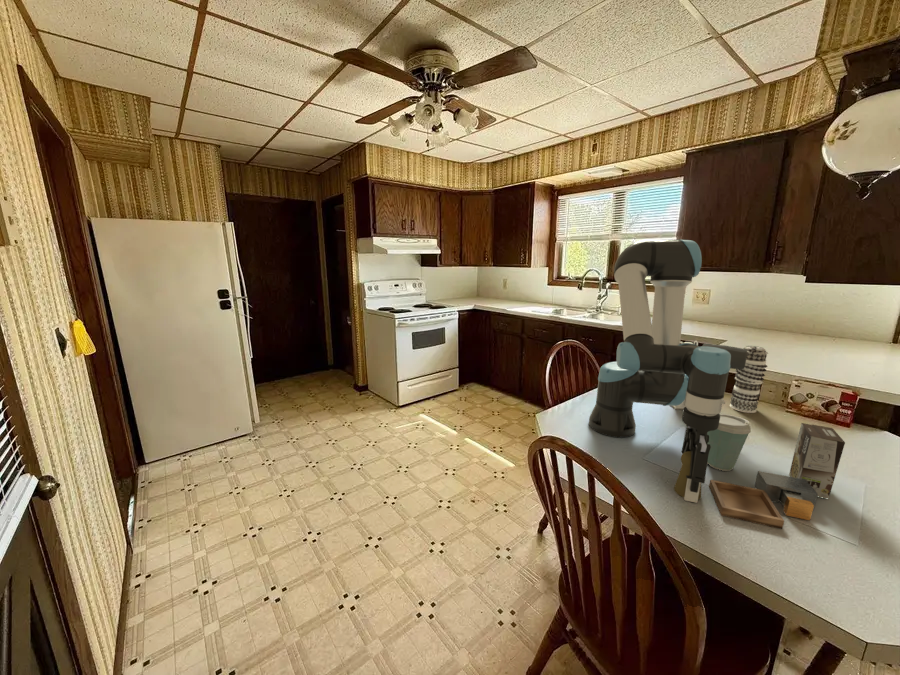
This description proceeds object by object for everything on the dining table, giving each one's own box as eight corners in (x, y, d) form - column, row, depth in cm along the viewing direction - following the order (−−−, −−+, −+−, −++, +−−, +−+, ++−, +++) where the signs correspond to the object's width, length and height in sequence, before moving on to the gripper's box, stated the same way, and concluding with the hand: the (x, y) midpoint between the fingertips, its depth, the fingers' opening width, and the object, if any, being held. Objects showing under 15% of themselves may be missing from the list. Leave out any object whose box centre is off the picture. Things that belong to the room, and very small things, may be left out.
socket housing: (763, 499, 93) (766, 484, 92) (754, 485, 98) (758, 470, 97) (813, 510, 89) (817, 493, 88) (801, 495, 94) (805, 479, 93)
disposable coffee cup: (691, 463, 108) (699, 416, 105) (705, 451, 115) (713, 406, 111) (734, 480, 100) (745, 430, 97) (747, 466, 107) (757, 419, 103)
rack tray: (720, 515, 87) (722, 507, 87) (708, 486, 98) (710, 479, 97) (782, 529, 83) (784, 521, 82) (762, 497, 93) (764, 490, 93)
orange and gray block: (786, 515, 87) (789, 500, 86) (767, 486, 97) (770, 473, 96) (810, 520, 85) (814, 505, 84) (788, 490, 96) (791, 477, 95)
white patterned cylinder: (735, 412, 142) (748, 349, 136) (723, 402, 150) (735, 343, 144) (762, 414, 140) (776, 351, 134) (749, 404, 148) (761, 344, 142)
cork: (668, 485, 98) (674, 448, 96) (689, 484, 99) (696, 447, 96) (684, 500, 92) (691, 461, 90) (707, 499, 93) (714, 460, 90)
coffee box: (830, 500, 92) (846, 442, 88) (795, 492, 96) (810, 435, 92) (819, 481, 100) (833, 427, 96) (787, 474, 103) (800, 421, 99)
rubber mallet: (731, 428, 129) (747, 346, 122) (731, 437, 123) (749, 351, 116) (689, 419, 136) (702, 340, 129) (687, 426, 130) (701, 345, 123)
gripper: (732, 430, 80) (714, 521, 85) (710, 397, 97) (696, 474, 103) (692, 424, 82) (677, 512, 88) (677, 393, 100) (665, 468, 106)
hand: (687, 491), depth 95 cm, fingers open, 7 cm apart
